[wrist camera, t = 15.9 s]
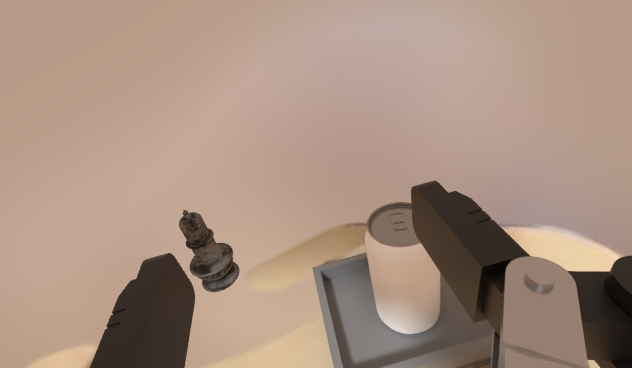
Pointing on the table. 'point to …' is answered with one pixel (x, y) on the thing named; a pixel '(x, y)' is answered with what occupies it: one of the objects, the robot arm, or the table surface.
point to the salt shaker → (208, 254)
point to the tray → (385, 343)
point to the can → (401, 271)
